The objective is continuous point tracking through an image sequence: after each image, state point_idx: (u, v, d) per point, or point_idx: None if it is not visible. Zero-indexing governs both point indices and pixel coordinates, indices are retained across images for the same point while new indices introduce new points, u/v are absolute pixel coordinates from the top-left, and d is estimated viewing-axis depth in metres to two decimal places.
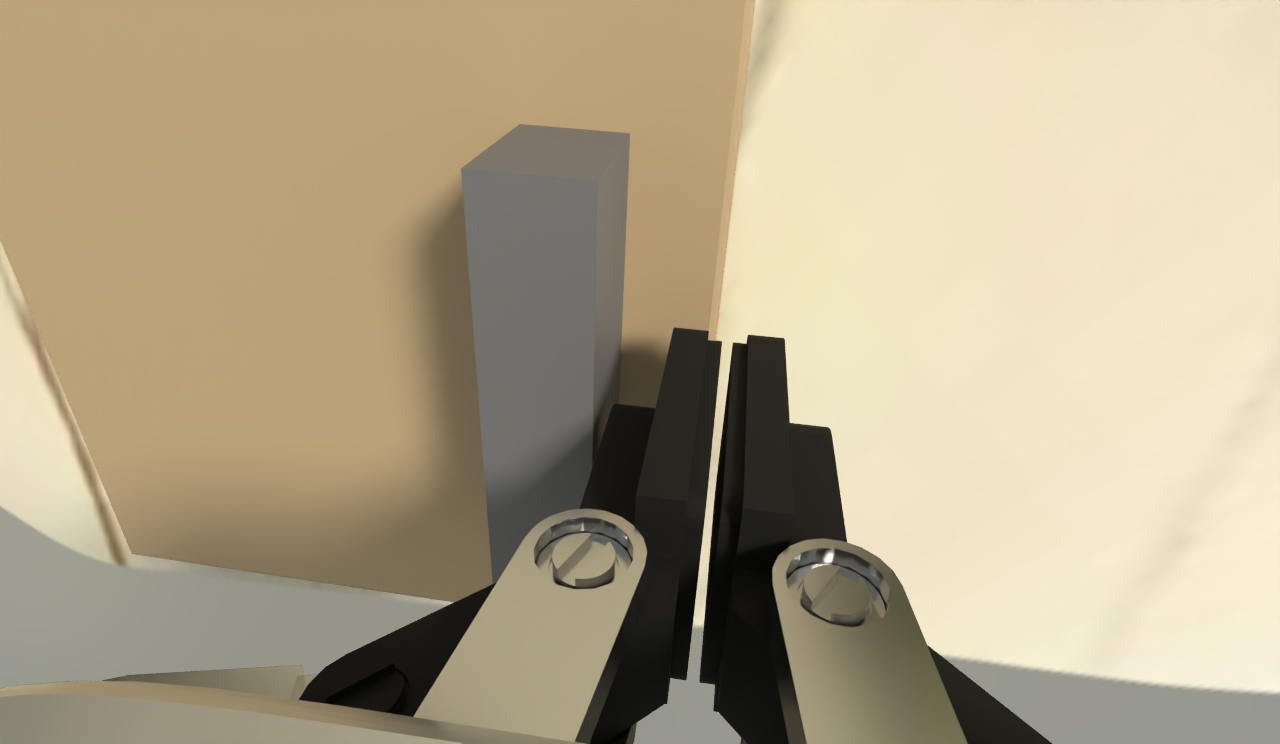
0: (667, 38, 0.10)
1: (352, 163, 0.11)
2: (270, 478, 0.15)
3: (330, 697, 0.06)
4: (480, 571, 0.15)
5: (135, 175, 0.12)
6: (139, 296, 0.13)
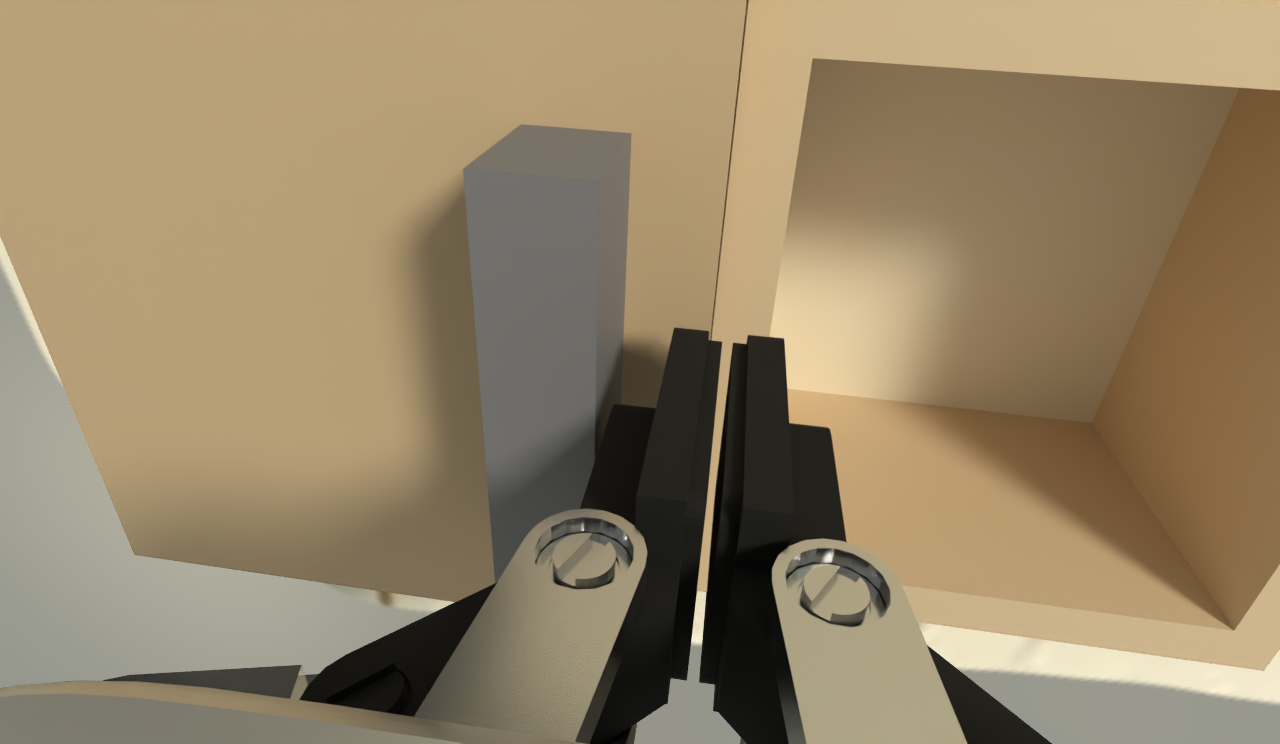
0: (668, 38, 0.10)
1: (354, 164, 0.11)
2: (272, 479, 0.15)
3: (330, 698, 0.06)
4: (482, 571, 0.15)
5: (137, 176, 0.12)
6: (142, 298, 0.13)
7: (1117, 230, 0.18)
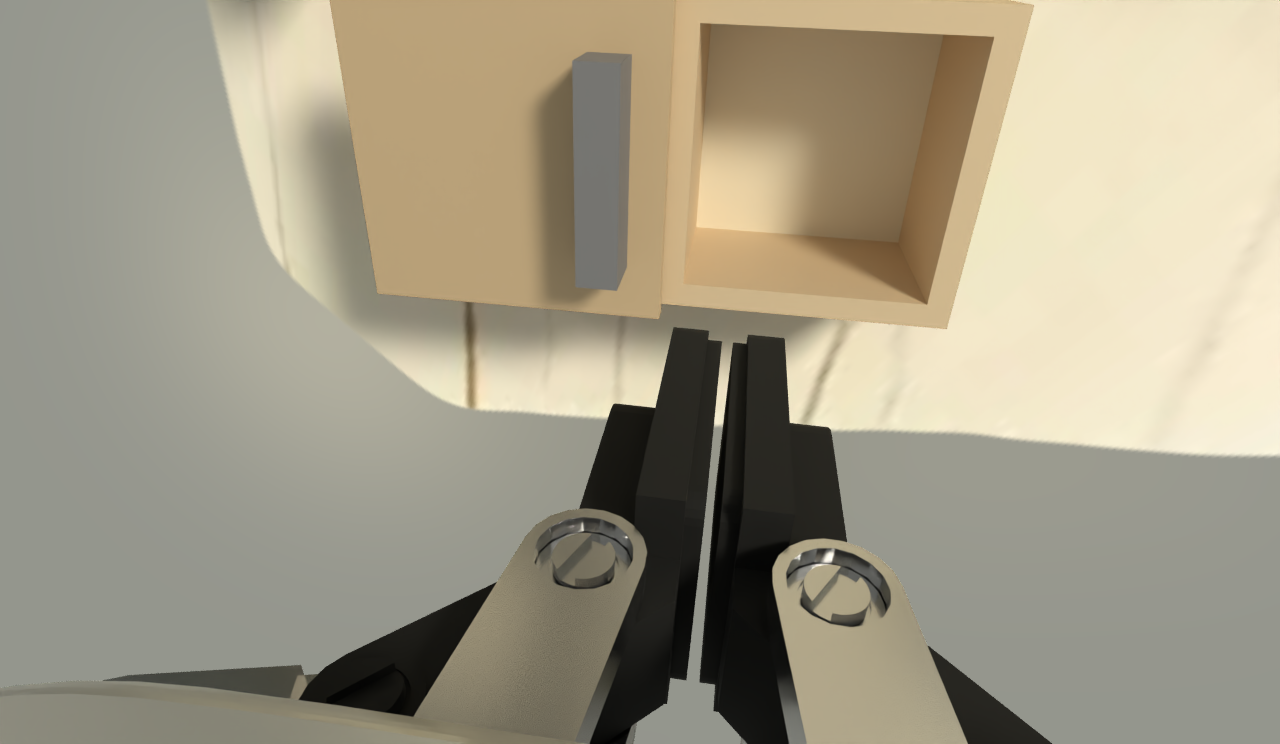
0: (645, 15, 0.25)
1: (515, 71, 0.27)
2: (458, 238, 0.30)
3: (330, 698, 0.06)
4: (560, 287, 0.31)
5: (418, 80, 0.27)
6: (409, 140, 0.28)
7: (893, 123, 0.34)
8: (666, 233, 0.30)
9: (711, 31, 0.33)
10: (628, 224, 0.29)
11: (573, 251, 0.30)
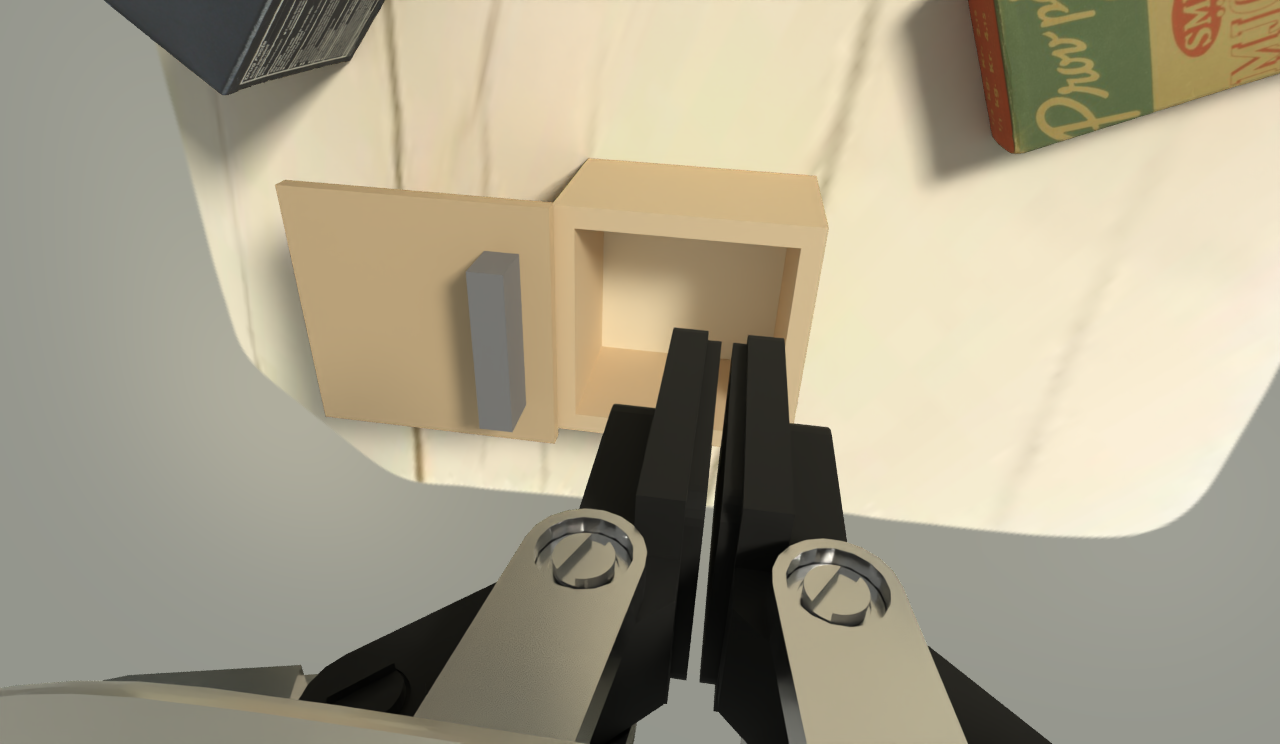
0: (527, 227, 0.32)
1: (429, 262, 0.33)
2: (390, 378, 0.37)
3: (330, 698, 0.06)
4: (474, 417, 0.37)
5: (352, 265, 0.34)
6: (347, 306, 0.35)
7: (758, 272, 0.40)
8: (559, 376, 0.37)
9: None
10: (525, 374, 0.36)
11: None
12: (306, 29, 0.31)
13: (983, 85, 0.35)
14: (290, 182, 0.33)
